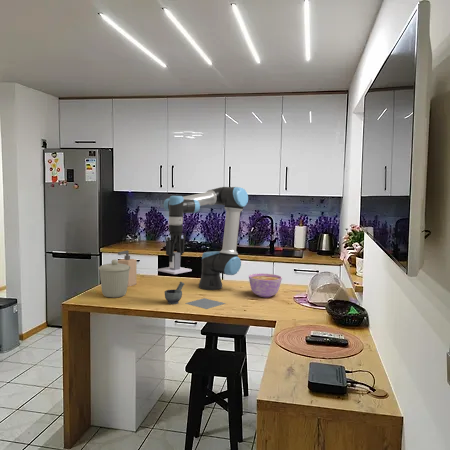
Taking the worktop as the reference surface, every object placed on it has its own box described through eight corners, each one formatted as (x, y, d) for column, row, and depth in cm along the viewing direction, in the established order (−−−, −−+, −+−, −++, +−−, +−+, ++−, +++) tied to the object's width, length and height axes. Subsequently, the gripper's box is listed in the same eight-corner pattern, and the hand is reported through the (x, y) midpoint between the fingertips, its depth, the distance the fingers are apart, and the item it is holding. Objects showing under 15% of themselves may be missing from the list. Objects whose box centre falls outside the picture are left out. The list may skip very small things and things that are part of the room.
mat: (204, 299, 257) (204, 298, 257) (225, 304, 247) (225, 303, 247) (184, 304, 244) (184, 303, 244) (206, 310, 234) (206, 309, 234)
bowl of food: (287, 296, 269) (288, 277, 268) (267, 301, 255) (268, 281, 254) (261, 290, 283) (262, 272, 282) (241, 295, 268) (241, 276, 267)
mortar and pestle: (167, 306, 239) (167, 284, 237) (161, 302, 247) (162, 281, 246) (187, 305, 243) (187, 283, 242) (180, 300, 252) (181, 279, 251)
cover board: (174, 267, 253) (175, 250, 252) (191, 271, 244) (192, 252, 244) (157, 270, 242) (158, 252, 242) (174, 274, 234) (175, 255, 233)
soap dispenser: (125, 282, 294) (126, 249, 292) (136, 284, 290) (136, 250, 288) (113, 286, 282) (113, 251, 280) (124, 288, 278) (124, 253, 277)
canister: (92, 295, 259) (92, 259, 257) (118, 290, 272) (119, 256, 270) (109, 301, 246) (109, 263, 245) (136, 296, 260) (137, 260, 258)
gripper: (169, 225, 232) (168, 270, 234) (191, 224, 246) (190, 266, 248) (159, 224, 237) (158, 268, 239) (181, 223, 250) (180, 264, 252)
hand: (174, 267), depth 243 cm, fingers closed on cover board, 4 cm apart
